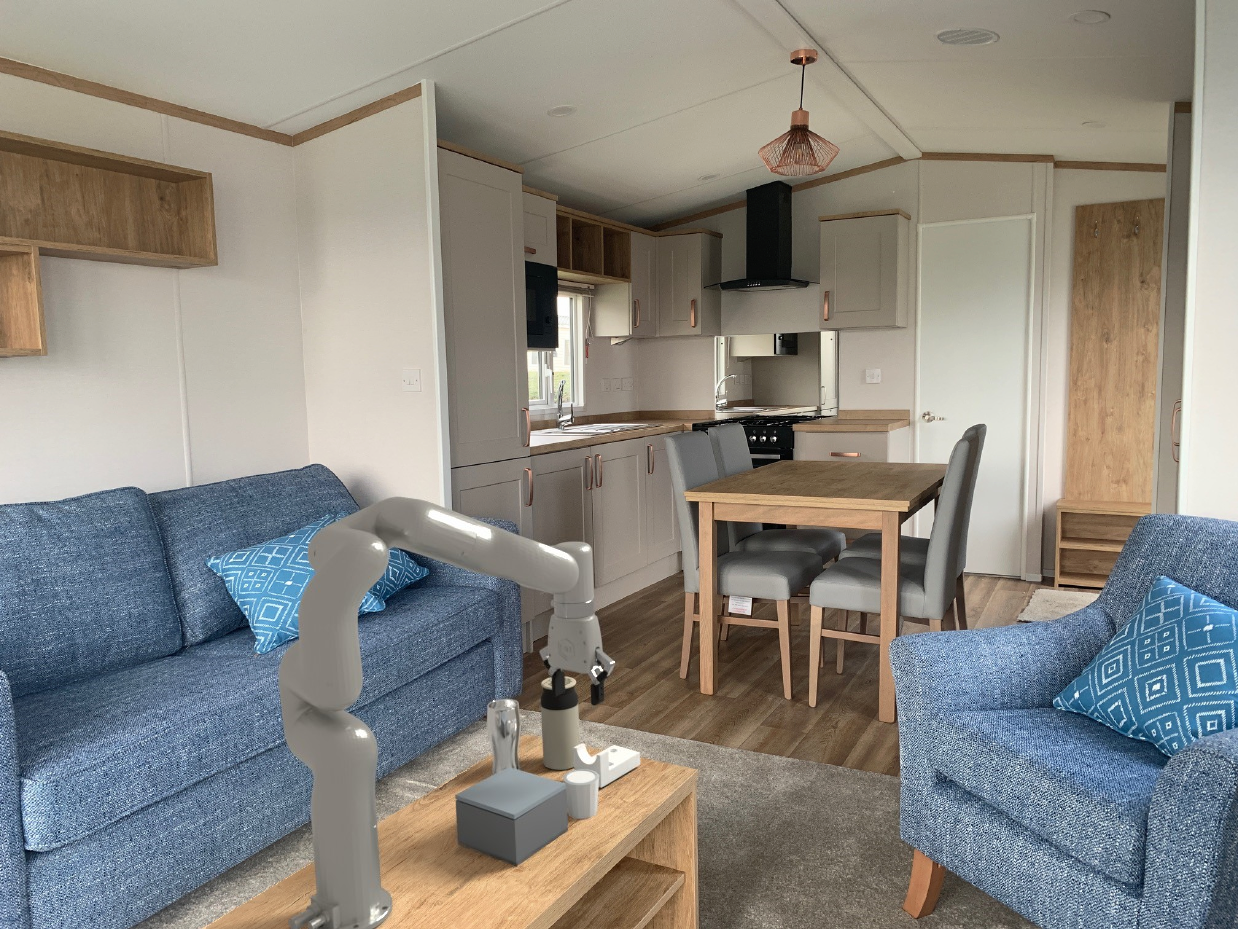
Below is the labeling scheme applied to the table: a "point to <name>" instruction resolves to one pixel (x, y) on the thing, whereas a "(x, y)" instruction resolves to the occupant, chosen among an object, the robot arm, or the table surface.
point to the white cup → (581, 793)
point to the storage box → (512, 829)
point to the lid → (511, 792)
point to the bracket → (606, 762)
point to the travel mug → (559, 725)
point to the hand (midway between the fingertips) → (577, 698)
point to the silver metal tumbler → (504, 733)
